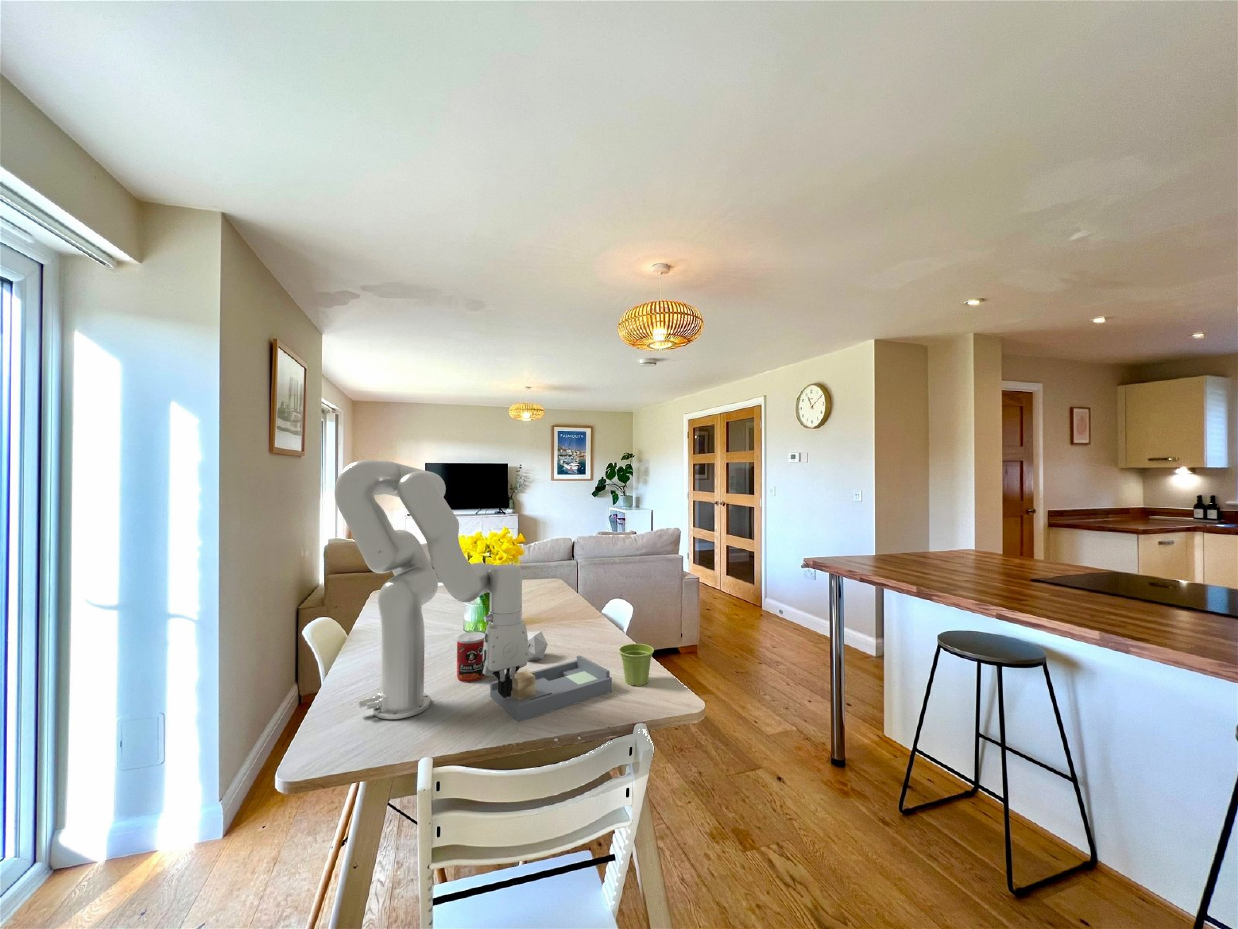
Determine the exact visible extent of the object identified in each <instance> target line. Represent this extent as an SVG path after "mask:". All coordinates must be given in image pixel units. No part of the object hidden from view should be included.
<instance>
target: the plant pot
mask: <svg viewBox="0 0 1238 929" xmlns="http://www.w3.org/2000/svg"><path fill="white" fill-rule="evenodd" d="M618 652H619V654H620V657H621V660H622V667H623V674H624V680H625V683H626V684H627V685H629V686H637V687H640V686H644V685H646V684H647V683H648V682H649V676H650V668H651V660H652V657H653V653H654V652H655V649H654V648H653V647H652V646H651V645H648V644H645V643H628V644H624V645H621V646H620V647H619V648H618Z"/></svg>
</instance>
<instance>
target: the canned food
mask: <svg viewBox="0 0 1238 929" xmlns="http://www.w3.org/2000/svg"><path fill="white" fill-rule="evenodd" d="M484 637H485V632H480V631H479V632H478V631H472V632H466V633H462V634H460V635H459V636H457V639H456V644H457V645H456V677H457V680H459V681H461V682H464V683H473V682H477V681H480V680H482V679H483V678H485V676H486V675H485V674H483V669H484V665H483V645H484Z"/></svg>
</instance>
